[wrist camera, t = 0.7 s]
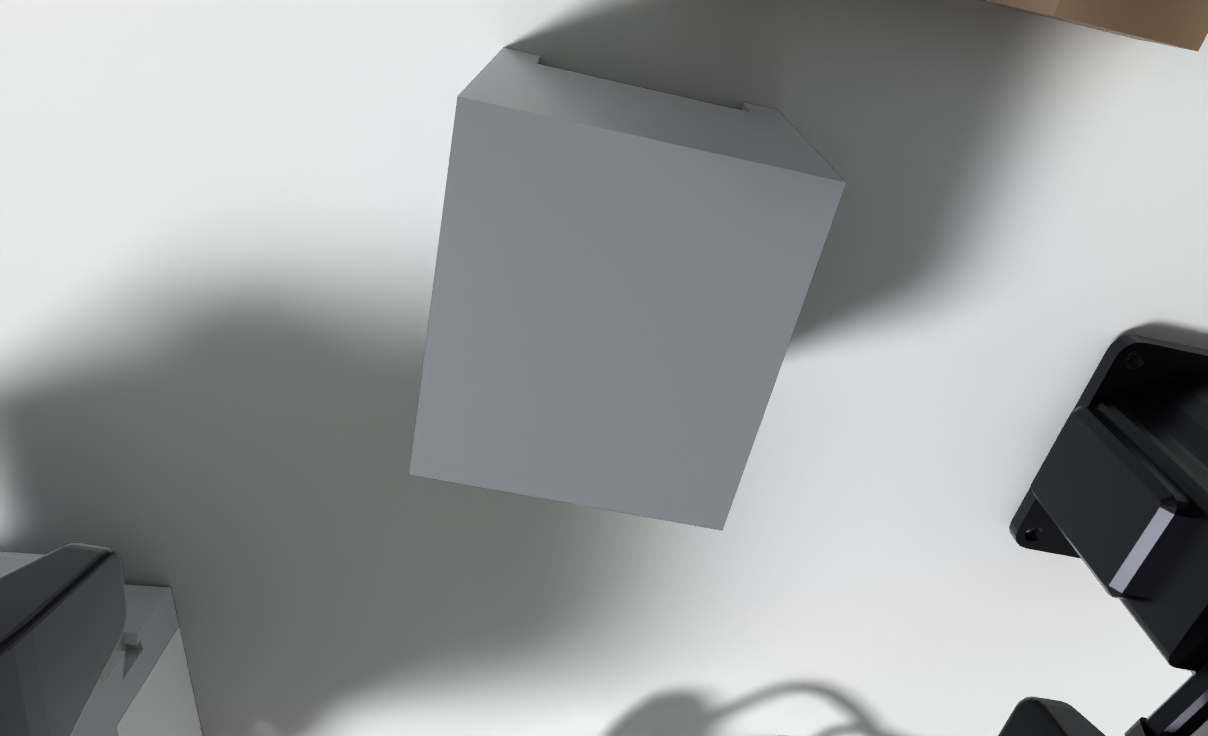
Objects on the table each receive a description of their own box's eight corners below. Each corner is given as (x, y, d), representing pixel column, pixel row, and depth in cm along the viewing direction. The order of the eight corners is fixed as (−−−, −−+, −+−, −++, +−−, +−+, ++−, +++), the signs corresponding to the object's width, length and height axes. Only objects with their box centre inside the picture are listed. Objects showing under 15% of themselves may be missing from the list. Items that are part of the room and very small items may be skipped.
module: (777, 109, 18) (846, 182, 13) (688, 401, 22) (713, 553, 16) (503, 47, 18) (457, 95, 12) (457, 357, 21) (405, 499, 16)
